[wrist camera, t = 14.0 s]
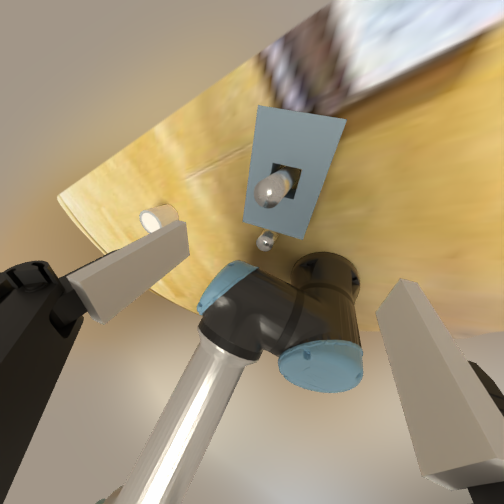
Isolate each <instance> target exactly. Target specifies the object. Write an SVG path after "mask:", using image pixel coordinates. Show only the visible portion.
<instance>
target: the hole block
mask: <svg viewBox="0 0 504 504" xmlns="http://www.w3.org/2000/svg"><path fill="white" fill-rule="evenodd" d="M346 121H347V119H341V118H334V117H328V116H322V115H316V114H310V113H303V112H297V111H291V110H285V109H278V108H272V107H266V106H260V105H258V110H257V117H256V125H255V132H254V140H253V148H252V155H251V163H250V170H249V178H248V185H247V193H246V200H245V208H244V215H243V222H245V223H248V224H252V225H255V226H258V227H262V228H265V229H268V230H271V231H275V232H278V233H281V234H285V235H288V236H291V237H294V238H298V239H301V240H303V238H304V235H305V232H306V230H307V227H308V224H309V222H310V219H311V216H312V213H313V211H314V208H315V205H316V202H317V200H318V197H319V194H320V192H321V189H322V186H323V183H324V181H325V178H326V175H327V173H328V170H329V167H330V164H331V162H332V159H333V156H334V153H335V151H336V148H337V145H338V143H339V140H340V137H341V134H342V132H343V129H344V126H345V124H346ZM281 165H285V166H289V167H294V168H298V169H302V172H301V175H300V179H299V182H298V186H297V189H292V188H291V189H290V190H289V191H288V192H287V194H286V195H285V196H284V197H283V199H282V200H281V201H280V202H279V203H278V205H277V206H275V207H273V208H269V209H267V208H263V207H261V206H260V205H258V203H257V202H256V201H255V198H254V188H255V186H256V185H257V183H258V182H260V181H261V180H263V179H265V178H266V177H268V176H270V175H271V174H273V173H275V172H277V171H278V170H280V166H281Z"/></svg>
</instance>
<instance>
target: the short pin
mask: <svg viewBox="0 0 504 504" xmlns="http://www.w3.org/2000/svg"><path fill="white" fill-rule="evenodd" d="M278 235H279V233H278V232H275V231H271V230H268V229H264V231H263V232H262V233H261V235H260V236H259V238H258V239H257V241H256V244H257V247H258V248H259V249H260V250H262V251H269V250H270V249H271V248H272V246H273V244H274V243H275V241H276V239H277V237H278Z"/></svg>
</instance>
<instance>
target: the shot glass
mask: <svg viewBox="0 0 504 504" xmlns="http://www.w3.org/2000/svg"><path fill="white" fill-rule="evenodd" d="M139 216H140V222H141V224H142V226H143V227H144V229H145V230H146V231H147V232H148V233H152V232H154V231H156V230H158V229H160V228H162V227H164V226H166V225H168V224H170V223H172V222H174V221H176V220H178V219H179V216H178V213H177V211H176V210H175V209H174V208H173V207H172V206H171V205H162V206H158V207H154V208H150V209H146V210H143V211H142V212H141V213H140V215H139Z"/></svg>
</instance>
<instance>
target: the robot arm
mask: <svg viewBox="0 0 504 504" xmlns="http://www.w3.org/2000/svg"><path fill="white" fill-rule="evenodd" d="M189 255H190V254H189V245H188V236H187V227H186V222H183V221H179V220H176V221H174V222H172V223H170V224H168V225H166V226H164V227H162V228H160V229H158V230H156V231H154V232H152V233H150V234H148V235H146V236H144V237H142V238H140V239H138V240H136V241H135V242H133V243H131V244H129V245H127V246H125V247H123V248H121V249H118V250H115V251H112V252H110V253H108V254H106V255H104V256H103V257H100V258H98V259H96V260H95V261H92V262H90V263H89V264H86V265H84V266H83V267H80V268H79V269H77V270H75V271H72V272H70V273H69V274H67V275H65V276H63V277H60V278H58V277H57V276H56V274H55V273H54V271H53V270H52V268H51V267H50V265H49V264H48V262H45V261H31V262H25V263H22V264H19V265H16V266H13V267H11V268H9V269H7V270H6V271H4V272H2V273H0V504H3V502H4V500H5V498H6V495H7V493H8V490H9V489H10V486H11V484H12V482H13V480H14V477H15V475H16V473H17V470H18V468H19V466H20V464H21V461H22V459H23V457H24V454H25V452H26V450H27V448H28V446H29V443H30V441H31V439H32V437H33V434H34V432H35V430H36V428H37V425H38V423H39V420H40V418H41V416H42V414H43V412H44V409H45V407H46V405H47V403H48V400H49V398H50V396H51V393H52V391H53V389H54V387H55V384H56V382H57V380H58V378H59V375H60V373H61V371H62V368H63V366H64V364H65V362H66V359H67V357H68V355H69V353H70V350H71V348H72V346H73V344H74V341H75V339H76V337H77V335H78V332H79V330H80V328H81V325H82V323H83V320H84V317H83V316H82V315H83V314H84V313H86V312H87V311H88V313H89V314H90V316H91V318H92V319H93V320H95V321H97V322H99V323H101V324H103V325H105V324H106V323H107V322H108V321H110V320H111V319H112V318H113V317H115V316H116V315H117V314H118V313H119V312H121V311H122V310H123V309H124V308H126V307H127V306H128V305H129V304H130V303H132V302H133V301H134V300H135V299H136V298H138V297H139V296H140V295H141V294H143V293H144V292H145V291H146V290H148V289H149V288H150V287H151V286H153V285H154V284H155V283H156V282H157V281H159V280H160V279H161V278H162V277H164V276H165V275H166V274H167V273H168V272H170V271H171V270H172V269H173V268H175V267H176V266H177V265H178V264H179V263H181V262H182V261H183V260H184V259H186V258H187V257H188V256H189ZM290 282H291V285H290V284H288V283H286V282H284V281H282V280H280V279H278V278H276V277H274V276H272V275H270V274H268V273H266V272H264V271H262V270H260V269H259V267H257V266H256V267H255V266H252V265H250V264H248V263H246V262H243V261H240V260H236V261H233V262H231V263H229V264H228V265H226V266H225V267H224V268H223V269H222V270H221V271H220V272H219V273H218V274H217V276H216V277H215V278H214V279H213V280H212V282H211V283H210V284H209V286H208V287H207V289H206V290H205V292H204V293H203V295H202V297H201V299H200V302H199V303H198V305H197V311H198V312H199V314H200V315H203V318H202V319H201V321H200V323H199V325H198V332H199V336H200V342H199V344H198V346H197V348H196V350H195V352H194V354H193V355H192V358H191V359H190V361H189V363H188V365H187V367H186V369H185V371H184V373H183V375H182V376H181V378H180V380H179V382H178V384H177V386H176V388H175V390H174V391H173V393H172V395H171V397H170V399H169V401H168V403H167V405H166V406H165V408H164V410H163V412H162V414H161V416H160V418H159V420H158V422H157V423H156V425H155V427H154V429H153V431H152V433H151V435H150V437H149V438H148V440H147V442H146V444H145V446H144V448H143V450H142V452H141V454H140V456H139V457H138V460H137V461H136V463H135V465H134V467H133V469H132V471H131V472H130V474H129V476H128V478H127V480H126V482H125V484H124V485H123V486H121V487H119V488H118V489H117V490H115V491H114V492H113V493H112V494H111V495H110V496H109V497H108V498H107V499H101V500H99V501H98V502H97V503H96V504H181V503H182V501H183V499H184V497H185V495H186V492H187V490H188V488H189V486H190V484H191V482H192V480H193V477H194V475H195V473H196V471H197V469H198V467H199V464H200V462H201V460H202V458H203V456H204V454H205V451H206V449H207V447H208V445H209V443H210V441H211V439H212V436H213V434H214V432H215V430H216V428H217V426H218V424H219V421H220V419H221V417H222V415H223V413H224V411H225V409H226V406H227V404H228V402H229V400H230V398H231V396H232V393H233V391H234V389H235V387H236V385H237V382H238V381H239V379H240V376H241V374H242V372H243V370H244V368H245V366H246V365H250V364H253V363H256V362H257V361H258V360H259V358H260V356H261V354H262V351H263V350H267V351H269V352H271V353H272V354H274V355H276V356H278V357H279V359H278V365H279V370H280V373H281V374H282V375H284V377H285V379H287V380H288V381H289V382H291V383H293V384H294V385H297V386H299V387H302V388H304V389H308V390H311V391H317V392H324V393H338V392H344V391H347V390H350V389H352V388H354V387H356V386H357V385H358V384H359V383H360V381H361V380H362V377H363V362H362V356H363V351H362V348H361V343H360V336H359V330H358V325H357V319H356V313H355V307H354V304H355V301H356V299H357V296H358V293H359V290H360V280H359V275H358V272H357V270H356V268H355V267H354V265H353V264H352V263H351V262H350V261H348V260H347V259H345V258H344V257H342V256H339V255H336V254H333V253H326V252H319V253H313V254H309V255H307V256H304V257H303V258H301V259H300V260H299V261H298V262H297V263H296V264H295V265H294V267H293V270H292V273H291V278H290ZM376 316H377V320H378V323H379V327H380V331H381V334H382V337H383V341H384V345H385V348H386V352H387V355H388V359H389V362H390V366H391V369H392V373H393V376H394V380H395V383H396V387H397V390H398V394H399V397H400V401H401V404H402V408H403V411H404V415H405V418H406V422H407V425H408V429H409V433H410V436H411V440H412V443H413V446H414V450H415V453H416V457H417V461H418V464H419V468H420V471H421V475H422V477H424V478H426V479H428V480H430V481H433V482H435V483H437V484H439V485H441V486H443V487H445V488H447V489H449V490H451V491H452V490H459V489H466V488H468V490H469V493H470V495H471V498H472V500H473V503H474V504H504V395H503V394H502V393H501V391H500V390H499V388H498V387H497V385H496V384H495V382H494V381H493V380H492V379H491V378H490V377H489V376H488V375H487V374H486V373H485V372H484V371H483V370H482V369H481V368H480V367H479V366H478V365H477V364H476V363H474V362H471V361H467V359H466V358H465V356H464V355H463V353H462V352H461V350H460V349H459V347H458V345H457V344H456V342H455V341H454V339H453V338H452V336H451V335H450V333H449V331H448V330H447V328H446V327H445V325H444V324H443V322H442V321H441V319H440V317H439V316H438V314H437V313H436V311H435V310H434V308H433V307H432V305H431V303H430V302H429V300H428V299H427V297H426V296H425V294H424V293H423V291H422V289H421V288H420V286H419V285H418V283H416V282H412V281H409V280H405V279H401V278H400V279H399V281H398V282H397V284H396V285H395V286H394V288H393V289H392V290H391V292H390V293H389V295H388V296H387V297H386V299H385V300H384V301H383V303H382V304H381V306H380V307H379V308H378V310H377V311H376Z"/></svg>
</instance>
